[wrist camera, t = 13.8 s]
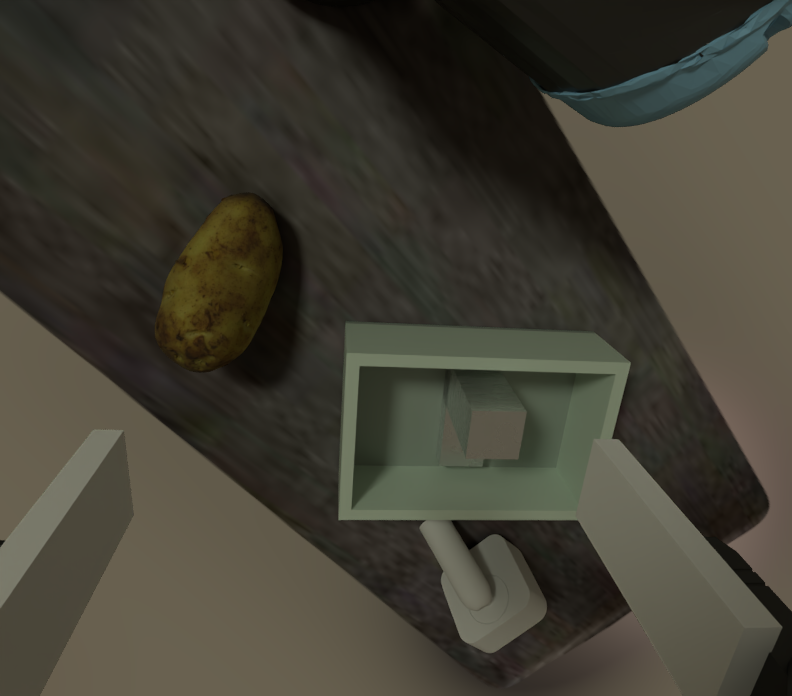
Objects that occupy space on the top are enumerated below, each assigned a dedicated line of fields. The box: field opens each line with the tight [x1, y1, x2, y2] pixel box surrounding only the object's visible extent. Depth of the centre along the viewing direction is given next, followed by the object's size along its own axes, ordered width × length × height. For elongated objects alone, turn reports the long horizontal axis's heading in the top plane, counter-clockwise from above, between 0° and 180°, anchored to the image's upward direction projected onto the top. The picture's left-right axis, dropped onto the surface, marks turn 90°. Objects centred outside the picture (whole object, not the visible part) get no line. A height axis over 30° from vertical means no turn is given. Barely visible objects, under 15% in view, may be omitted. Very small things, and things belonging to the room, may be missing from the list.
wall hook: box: [420, 520, 547, 653], centre depth 54 cm, size 8×10×10 cm
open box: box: [339, 321, 631, 520], centre depth 48 cm, size 15×22×7 cm
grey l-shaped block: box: [436, 369, 527, 467], centre depth 47 cm, size 10×4×10 cm, turn 176°
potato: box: [155, 193, 283, 372], centre depth 42 cm, size 8×13×8 cm, turn 135°
